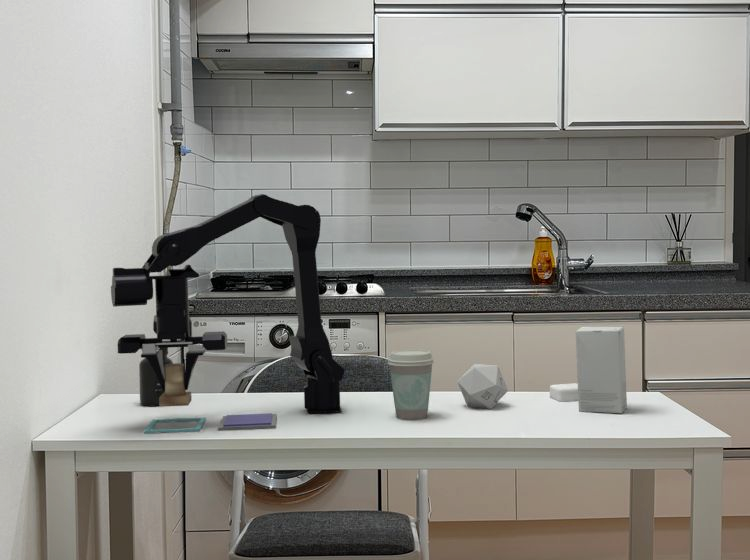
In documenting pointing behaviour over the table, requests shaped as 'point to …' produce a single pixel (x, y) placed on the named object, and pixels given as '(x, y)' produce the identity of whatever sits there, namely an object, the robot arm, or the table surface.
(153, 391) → the supplement bottle
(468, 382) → the die
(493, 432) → the table surface
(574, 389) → the soap
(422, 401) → the coffee cup
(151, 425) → the teal flat square frame
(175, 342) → the robot arm
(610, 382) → the skincare box
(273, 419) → the ink pad
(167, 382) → the stamp
